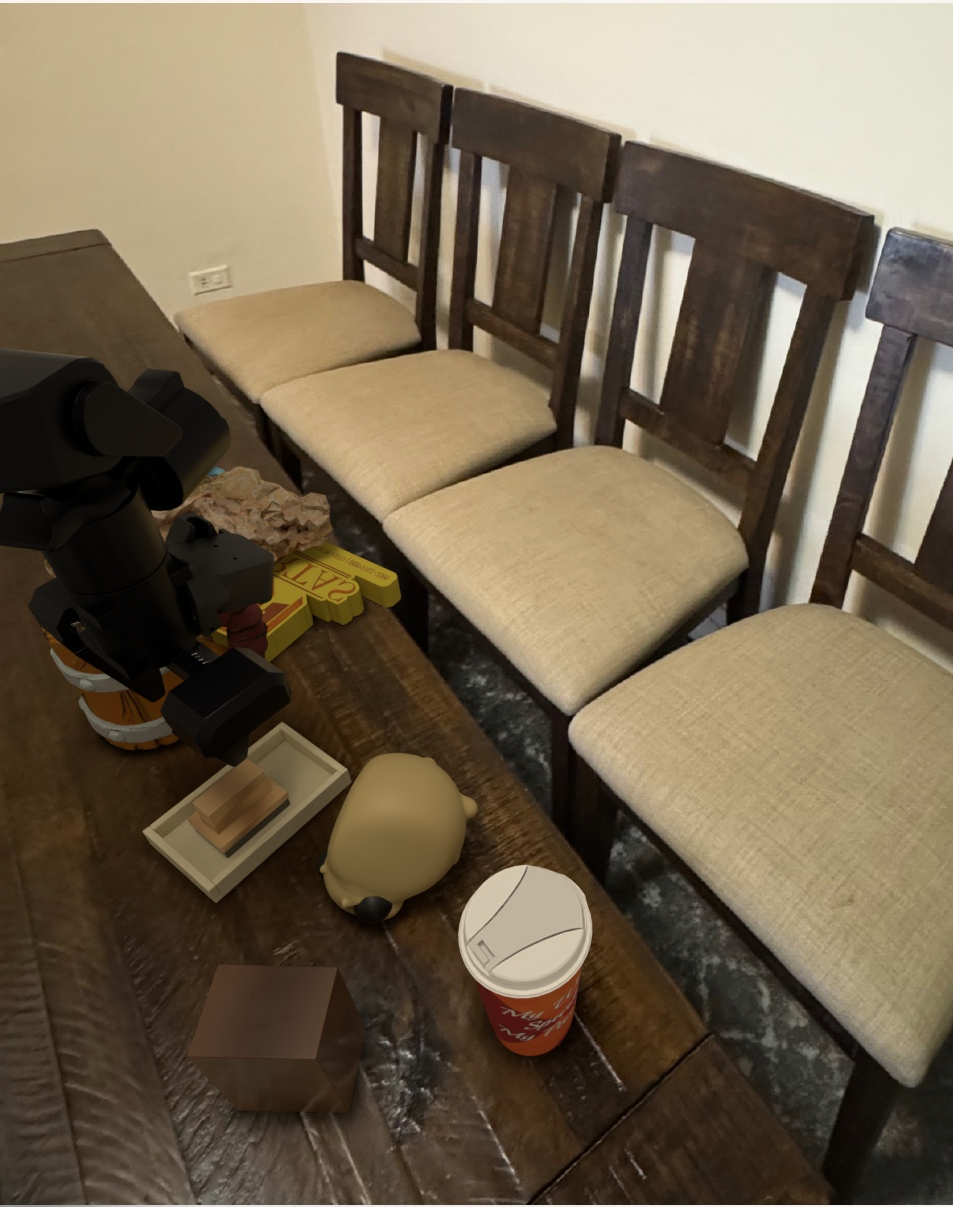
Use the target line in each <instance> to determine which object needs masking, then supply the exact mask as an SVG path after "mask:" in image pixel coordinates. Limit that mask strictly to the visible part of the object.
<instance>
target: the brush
mask: <svg viewBox="0 0 953 1207" xmlns="http://www.w3.org/2000/svg"><path fill="white" fill-rule="evenodd" d="M288 798H289V795H288V792H287V791H286V790H284V789H283V788H282V787H280V786H279V785H278V784H277V783H275V782H274V781H273V780H271V779H270V778H269V777H268V776H266V775H265V773H264V771H263V770H262V769H261V768H259V767H258V766H257V765H255V764H254V763H253V762H252V761H250V760H249V759H246V760H245V761H244V762H243V763H241V764H240V765H239V766H237V767H236V768H235V769H234V770H232V771H231V772H230V773H229V774H227V775H226V776H225V777H224V778H222V779H221V780H220V781H219V782H217V783H216V784H215V785H214V786H212V787H211V788H210V789H208V790H207V791H206V792H205V793H203V794H202V795H201V796H200V797H198V798H197V799H196V800H195V801H193V802H192V804H193V805H194V807H195V809H196V811H197V812H195V813H194V814H193V815H192V816H190V817H189V818H188V819H187V820H188V822H189V823H190V825H191V826H192V827H194V829H195V830H196V832H198V833H199V834H200V835H201V836H202V837H203V838H205V839H206V840H207V841H208V842H209V843H210V844H211V845H213V846H214V847H215V848H216V849H217V850H218V851H220V852H221V853H222V854H223V855H224V856H225V857H227V858H229V857H230V856H231V855H233V854H234V853H235V852H236V851H237V850H238V849H239V848H241V847H242V846H243V845H244V844H245V843H246V842H248V841H249V840H250V839H251V838H252V837H253V836H255V835H256V834H257V833H258V832H259V831H260V830H261V829H263V828H264V827H265V826H266V825H267V824H268V823H270V822H271V821H272V820H273V819H274V818H275V817H276V816H278V815H279V814H280V813H281V812H282V811H283V810H285V809H286V808H287V807H288V806H289V805H290V802H289V799H288Z"/></svg>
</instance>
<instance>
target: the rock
mask: <svg viewBox="0 0 953 1207" xmlns="http://www.w3.org/2000/svg"><path fill="white" fill-rule="evenodd" d="M151 512H152V514H153V517H154V519H155V521H156V523H157V526H158V528H159V530H160V533H161V535H162V537H163V539H164V542H165V540H166V537H167V535H168V533H169V530H170V528H171V526H172V524H173V522H174V520H175V518H176V516H178V515H183V514H188V513H197V514H198V515H200V516H202V517H203V518H205V519H207V520H208V521H210V522H211V523H212V524H213V526H214V528H215V530H216V531H217V533H218V529H222V528H224V529H226V530H227V531H229V532H230V533H235V534H240V535H242V536H244V537H246V538H247V539H249V540H251V541H252V542H254V543H256V544H257V545H259V546H261V547H262V548H264V549H265V550H267V551H269V552H270V553H272V554H273V555H274V563H275V562H276V561H277V560H278V559H279V558H280V557H282V556H285V555H289V554H290V553H292V552H293V551H295V550H301V551H304V550H305V549H308V548H311V547H316V546H321V545H322V544H323V543H324V542H326V540H327V536H328V535H329V534H330V533H331V532H332V531H334V528H333V526H332V523H331V519H330V517H331V516H330V513H331V505H330V503H329V502H328V499H327V496H326V495H325V494H321V493H316V492H310V493H308V494H306V495H304V496H298V495H297V494H296V493H294V492H293V491H290V490H286V489H285V488H283V487H282V486H281V485H280V484H278V483H276V482H271V481H266V480H264V479H263V478H262V476H261V474H260V471H259V470H258V469H254V468H250V467H249V468H248V467H245V466H242V465H239V466H235V467H233V468H232V469H230V470H227V471H225V473H223V472H221V473H220V474H219V475H215V476H206V477H205V478H204V479H203V481H202V482H201V483H200V484H199V485H198V486H197V488H196V489H195V490H194V491H193V492H192V494H191V495H190V496H189V497H188V498H187V499H186V501H185V502H184V503H183V504H182V505H181V506H179V507H178V508H176V509H173V510H170V511H153V510H151ZM43 565H44V567H45V569H46V571H47V572H48V573H49V574H50V576H51V578H52V579H54V578H56V575H55V574H54V572H53V570H52V568H51V567H50V565H49V563H48V562H47V560H46V559H45V560H44V561H43Z"/></svg>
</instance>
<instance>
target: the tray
mask: <svg viewBox="0 0 953 1207" xmlns="http://www.w3.org/2000/svg"><path fill="white" fill-rule="evenodd" d="M246 759H249V760H250V761H252V762H253V763H254V764H255V765H257V766H258V767H259V768H261V769H262V770H263V771H264V773H265V775H266V776H268V777H269V778H270V779H271V780H273V781H274V782H275V783H277V784H278V785H279V786H280V787H282V788H283V789H284V790H286V791H287V792H288V795H289V798H288V799H289V802H290V805H289V806H288V807H287V808H286V809H285V810H283V811H282V812H281V813H280V814H279V815H278V816H276V817H275V818H274V819H273V820H272V821H271V822H270V823H268V824H267V825H266V826H265V827H264V828H263V829H261V830H260V831H259V832H258V833H257V834H256V835H255V836H253V837H252V838H251V839H250V840H249V841H248V842H246V843H245V844H244V845H243V846H242V847H241V848H239V849H238V850H237V851H236V852H235V853H234V854H233V855H231V856H230V857H229V858H227V857H225V856H224V855H223V854H222V853H221V852H220V851H218V850H217V849H216V848H215V847H214V846H213V845H211V844H210V843H209V842H208V841H207V840H206V839H205V838H203V837H202V836H201V835H200V834H199V833H198V832H196V830H195V829H194V827H192V826H191V825H190V823H189V822H188V820H187V819H188V818H189V817H190V816H192V815H193V814H194V813H195V812H197V811H196V809H195V807H194V805H193V804H192V802H193V801H195V800H196V799H197V798H198V797H200V796H201V795H202V794H203V793H205V792H206V791H207V790H208V789H210V788H211V787H212V786H214V785H215V784H216V783H217V782H219V781H220V780H221V779H222V778H224V777H225V776H226V775H227V774H229V773H230V772H231V771H232V770H234V769H235V768H236V767H237V766H236V767H232V766H230V765H228V764H226V765H225V766H224V767H223V768H221V769H220V770H219V771H218V772H216V773H215V774H214V775H212V776H211V777H210V778H209V779H207V780H206V781H204V783H202V784H201V785H200V786H199V787H197V788H196V789H194V790H193V791H192V792H191V793H189V794H188V795H187V796H185V797H184V798H183V799H182V800H180V801H179V802H178V803H176V804H175V805H174V806H173V807H171V808H170V809H169V810H167V812H165V813H164V814H163V815H161V816H160V817H159V818H158V819H156V820H155V821H154V822H152V823H150V825H149V826H147V827H146V828H145V829H143V830H142V833H143V835H144V836H145V838H146V840H147V842H148V843H149V844H150V846H152V847H153V848H154V850H156V851H158V853H160V854H161V855H162V856H163V857H164V858H165V859H166V860H167V861H169V863H171V864H172V865H173V866H174V867H175V868H176V869H177V870H178V871H179V872H180V873H181V874H183V875H184V876H185V877H186V878H187V879H188V880H189V881H190V882H191V883H193V885H195V886H196V887H197V888H198V889H199V890H200V891H201V892H203V893H204V895H206V896H207V897H208V898H209V899H210V900H212V902H213V903H215V904H217V903H218V902H220V900H222V899H223V898H224V897H225V896H226V895H227V894H228V893H230V892H231V891H232V890H233V889H234V888H235V887H236V886H237V885H239V884H240V883H241V882H242V881H244V880H245V878H246V877H248V876H249V875H250V874H251V873H252V872H254V870H255V869H257V867H259V866H260V865H261V864H263V862H265V861H266V860H267V859H268V858H269V857H270V856H271V855H273V853H274V852H275V851H277V850H278V849H279V848H280V847H282V845H283V844H284V843H285V842H287V841H288V840H289V839H290V838H292V837H293V836H294V835H295V834H296V833H297V832H298V831H299V830H300V829H302V827H303V826H305V825H306V824H307V823H308V822H309V821H310V820H312V818H314V817H315V816H316V815H317V814H318V813H319V812H320V811H322V810H323V809H324V808H325V807H327V805H328V804H329V803H330V802H331V801H333V800H334V799H335V798H336V797H337V796H338V795H340V794H341V793H342V792H343V791H344V790H345V789H346V788H347V787H348V786H349V785H351V784H352V779H351V774H350V773H349V770H348V768H346V767H345V766H343V764H341V763H339V761H337V760H336V759H334V758H333V757H331V756H330V755H329V754H328V753H326V752H325V751H323V750H322V749H320V748H319V747H318V746H317V745H315V744H313V743H312V742H311V741H310V740H308V739H306V737H304V736H302V734H300V733H299V732H297V731H296V730H294V728H291V727H290V726H289V725H288V724H286V723H285V722H283V721H281V722H280V723H279V724H277V725H276V726H275V727H274V728H273V729H271V730H270V731H269V732H267V733H266V734H265V735H263V736H262V737H261V738H259V739H258V740H257V741H255V743H253V744H252V745H251V746H249V749H248V756H247V758H246ZM246 759H245V760H246ZM245 760H244V761H245ZM244 761H243V762H244ZM243 762H241V763H243ZM241 763H240V764H241ZM240 764H239V765H240ZM239 765H238V766H239Z"/></svg>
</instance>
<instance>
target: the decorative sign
mask: <svg viewBox="0 0 953 1207" xmlns="http://www.w3.org/2000/svg"><path fill="white" fill-rule="evenodd" d="M363 598H364V599H367V600H369V601H371V602H373V603H376V604H378V605H380V606H382V607H384V608H391V607H394V606H395V605H396V604H397V603H398V602H400V600H402V593H401V589H400V583H399V577H398V575H397V573H396V572H394V571H392V570H389V569H388V568H385V567H383V566H381V565H379V564H377V563H375V562H372V561H369V560H367V559H365V558H363V557H361V556H358V555H357V554H354V553H352V552H350V551H347V550H345V549H343V548H340V547H339V546H337V545H334V544H332V543H330V542H328V541H325V542H324V543H323V544H322V545H321V546H316V547H311V548H308V549H305V550H304V551H301V550H295V551H293V552H292V553H290V554H289V555H285V556H282V557H280V558H279V559H278V560H277V561H276V562H275V563H274V575H273V593H272V599H271V601H269V602H267V603H265V604H262V605H260V604H258V603H257V605H258V606H259V607H260V608H261V609H262V612H263V616H262V621H263V622H265V623H266V625H267V626H268V631H267V640H268V648H267V650H266V651H265V660H267V661H268V662H270V663H271V661H273V660H274V659H275V658H277V656H278V655H280V654H281V653H282V652H283V651H284V650H286V649H287V648H288V647H289V646H290V645H291V644H293V643H294V642H295V641H297V639H299V637H301V636H302V635H303V634H304V633H305V632H307V631H308V630H309V629H310V628H311V627H312V626H313V625H314V619H313V618H314V617H317V618H319V619H321V620H322V621H325V622H328V623H329V622H331V621H333V622H335V623H337V624H339V625H342V626H346V625H347V624H348V623H350V622H351V621H352V620H354V618H353V617H357V616H360V615H361V614H363V612H364V610H365V605H364V601H363ZM313 616H314V617H313ZM226 629H227V627H223V626H222V627H221V628H219V629H218V630H216V631H215V632H213V633H212V634H210V636H211V638H212V640H213V642H215V643H218V644H221V645H224V646H226V647H228V640H227V633H226Z"/></svg>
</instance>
